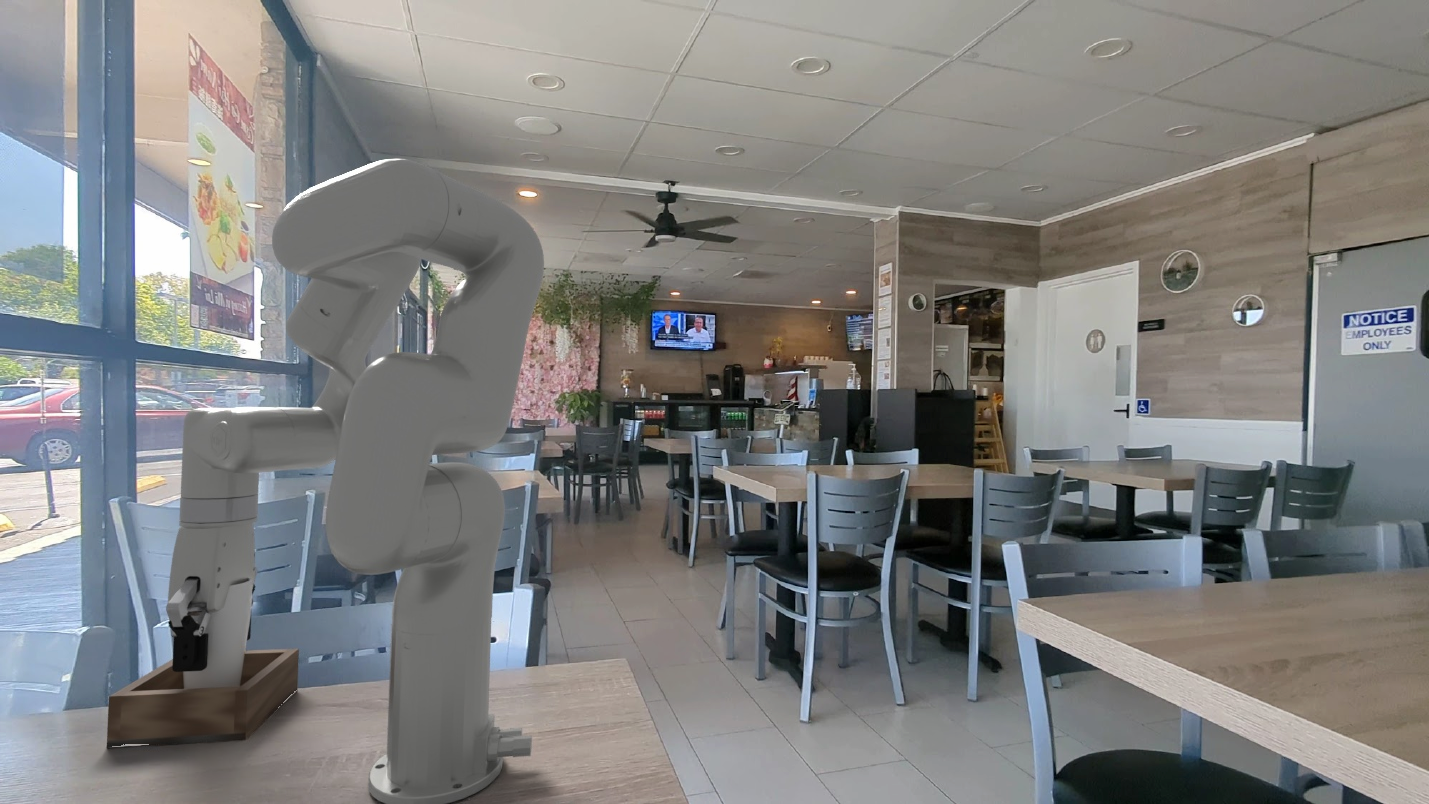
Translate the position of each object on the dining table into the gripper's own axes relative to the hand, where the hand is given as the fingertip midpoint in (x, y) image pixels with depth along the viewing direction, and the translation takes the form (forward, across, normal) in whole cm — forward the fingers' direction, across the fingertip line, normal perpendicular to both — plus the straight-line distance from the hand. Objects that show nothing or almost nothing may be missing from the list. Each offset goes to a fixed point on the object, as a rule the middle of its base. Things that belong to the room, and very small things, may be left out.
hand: (213, 654), depth 80 cm
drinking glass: (+7, 0, 0) cm, 7 cm away
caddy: (+7, 0, 0) cm, 7 cm away
